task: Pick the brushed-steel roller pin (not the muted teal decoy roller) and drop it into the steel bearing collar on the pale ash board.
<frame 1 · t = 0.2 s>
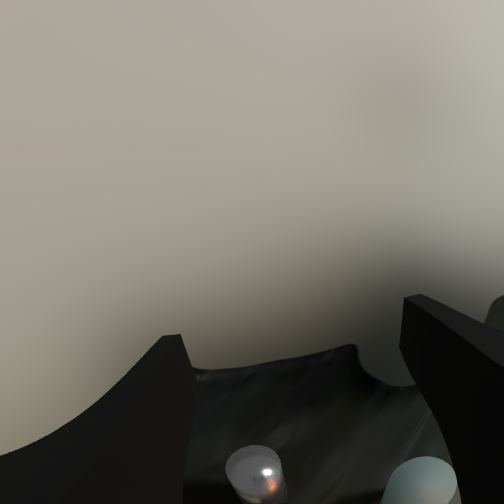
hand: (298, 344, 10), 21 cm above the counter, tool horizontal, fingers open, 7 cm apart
steel pin: (266, 500, 21), on the counter
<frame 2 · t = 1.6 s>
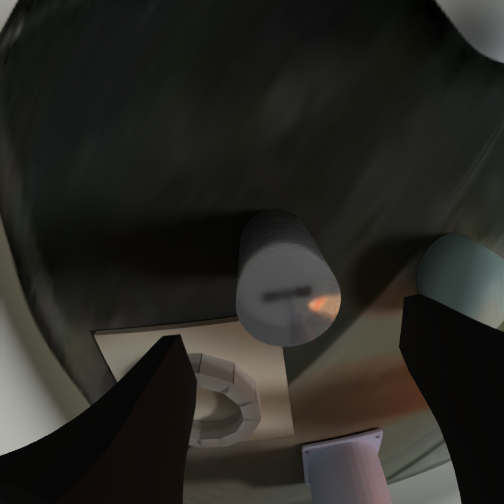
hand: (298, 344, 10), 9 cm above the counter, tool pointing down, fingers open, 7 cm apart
decoy roller: (447, 270, 19), on the counter
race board: (202, 391, 23), on the counter
steel pin: (274, 242, 18), on the counter
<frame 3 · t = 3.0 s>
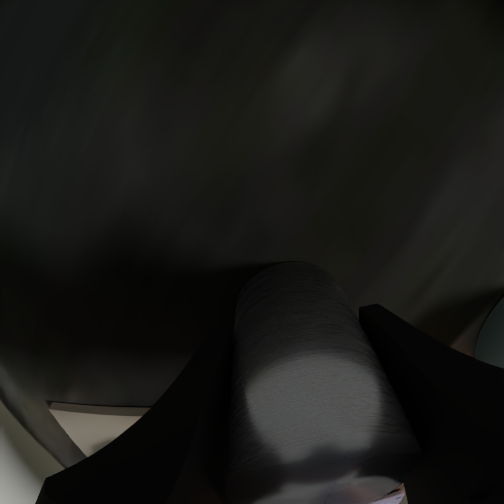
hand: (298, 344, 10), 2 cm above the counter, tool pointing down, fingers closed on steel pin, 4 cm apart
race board: (191, 471, 16), on the counter
steel pin: (290, 312, 11), on the counter, touching gripper
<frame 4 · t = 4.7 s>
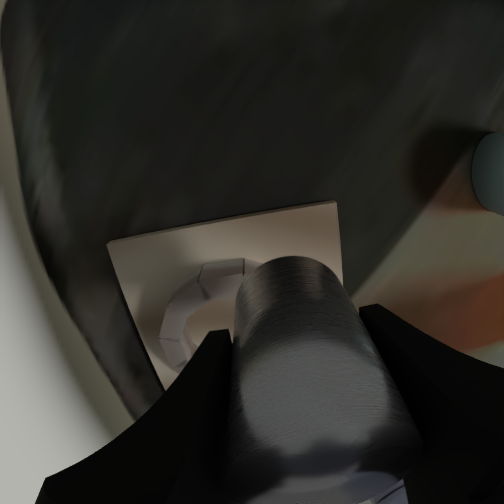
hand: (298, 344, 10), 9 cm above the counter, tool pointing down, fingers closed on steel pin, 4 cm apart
decoy roller: (497, 172, 16), on the counter
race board: (238, 319, 19), on the counter
steel pin: (290, 307, 11), point 7 cm above the counter, touching gripper
when the fingers open (4 cm above the counter, at t = 6.4 s): steel pin drops 1 cm, resting on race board.
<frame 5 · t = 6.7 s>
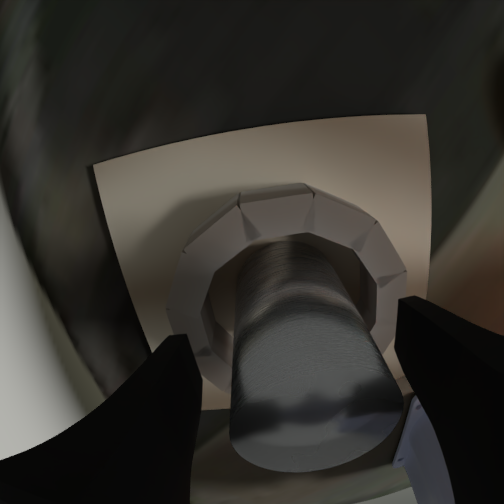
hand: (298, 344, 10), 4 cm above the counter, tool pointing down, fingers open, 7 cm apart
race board: (285, 286, 13), on the counter
steel pin: (286, 288, 13), point 1 cm above the counter, touching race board
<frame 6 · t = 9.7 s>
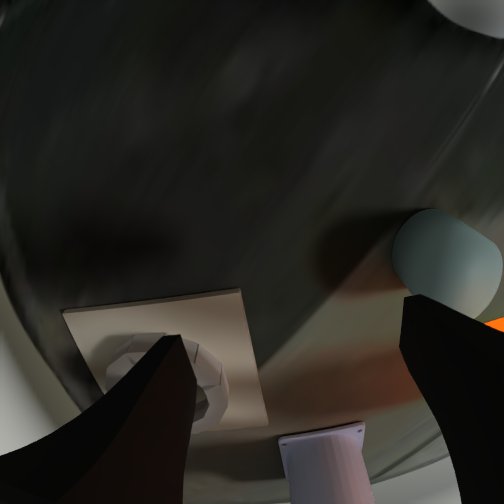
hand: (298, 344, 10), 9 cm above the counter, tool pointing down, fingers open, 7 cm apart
orange juice: (487, 350, 23), on the counter
decoy roller: (428, 248, 18), on the counter
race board: (170, 374, 22), on the counter
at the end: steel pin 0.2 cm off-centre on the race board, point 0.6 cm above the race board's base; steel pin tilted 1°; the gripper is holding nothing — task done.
